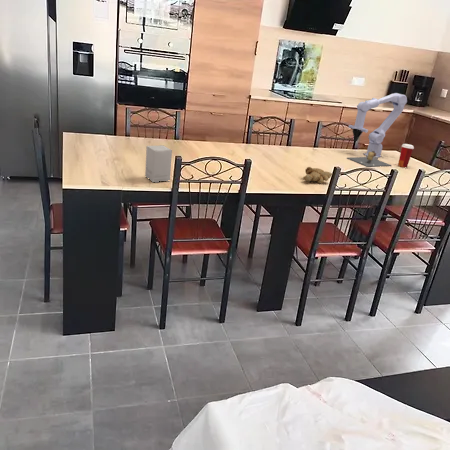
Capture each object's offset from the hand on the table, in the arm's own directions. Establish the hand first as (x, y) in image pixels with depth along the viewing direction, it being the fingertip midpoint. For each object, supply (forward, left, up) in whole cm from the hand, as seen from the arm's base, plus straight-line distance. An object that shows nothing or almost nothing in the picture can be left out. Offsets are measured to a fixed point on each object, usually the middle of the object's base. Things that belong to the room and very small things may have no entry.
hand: (355, 140), depth 302 cm
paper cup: (-17, +29, -10) cm, 35 cm away
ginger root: (+69, +47, -10) cm, 84 cm away
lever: (0, +17, -6) cm, 18 cm away
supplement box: (+152, +35, -10) cm, 156 cm away
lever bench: (+2, +18, -9) cm, 21 cm away
